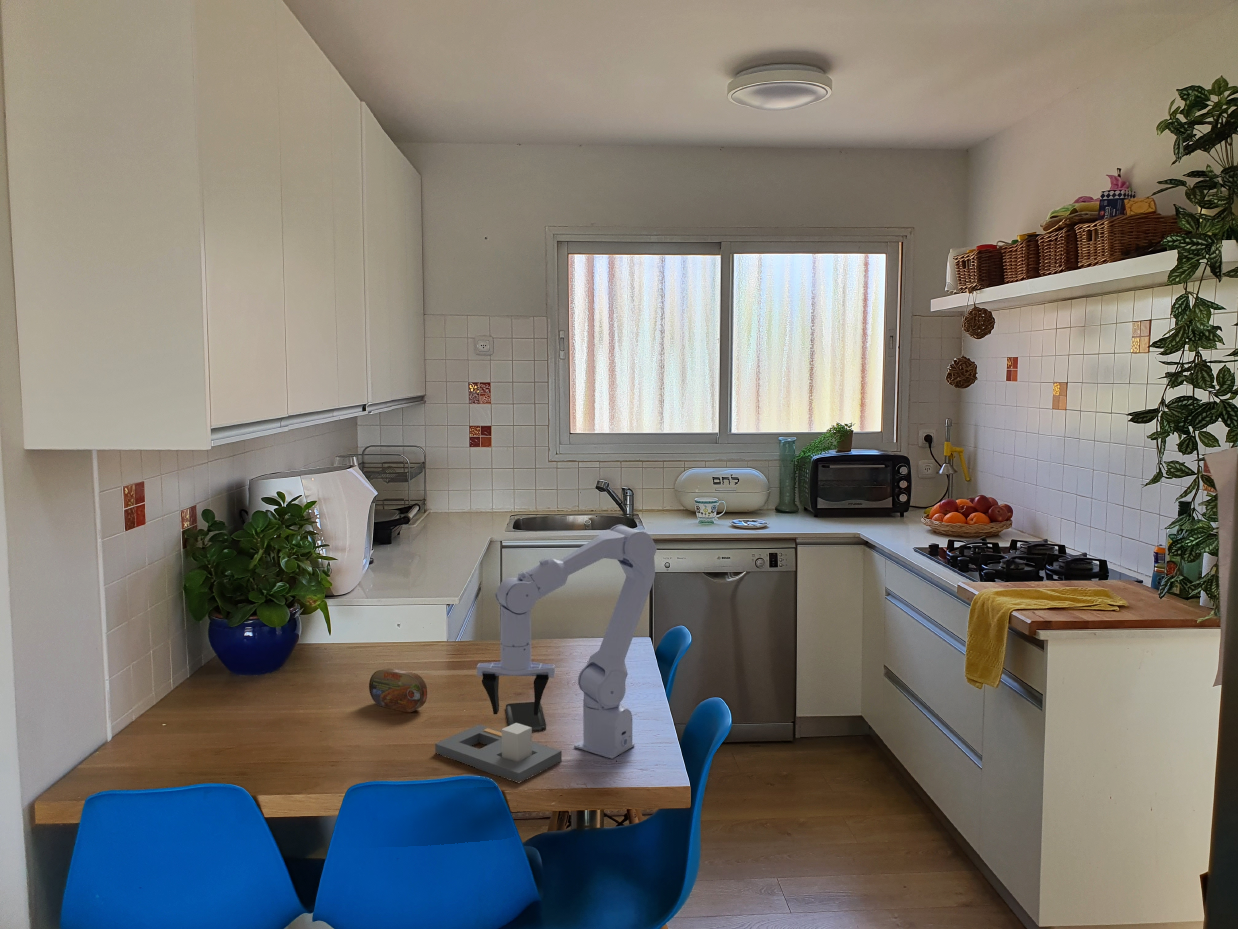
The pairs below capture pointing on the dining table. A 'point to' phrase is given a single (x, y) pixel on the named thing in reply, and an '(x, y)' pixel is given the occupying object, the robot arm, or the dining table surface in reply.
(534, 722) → the phone
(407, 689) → the tin
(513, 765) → the socket plate
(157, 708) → the dining table surface
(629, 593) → the robot arm
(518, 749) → the plug
